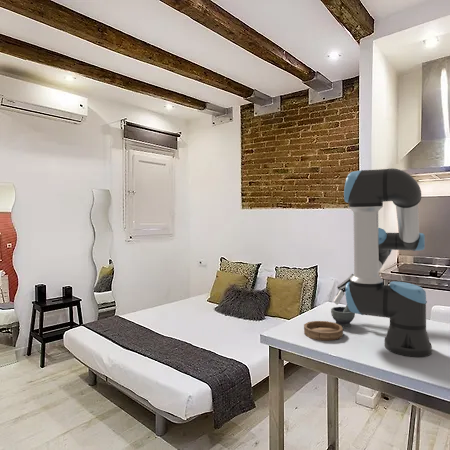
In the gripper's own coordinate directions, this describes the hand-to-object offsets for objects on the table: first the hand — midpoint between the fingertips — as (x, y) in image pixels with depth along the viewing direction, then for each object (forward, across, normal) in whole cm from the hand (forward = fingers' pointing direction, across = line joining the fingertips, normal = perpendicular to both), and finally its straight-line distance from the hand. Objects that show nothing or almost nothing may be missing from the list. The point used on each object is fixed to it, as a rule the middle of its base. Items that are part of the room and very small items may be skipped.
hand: (347, 306), depth 155 cm
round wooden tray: (+18, -4, +8) cm, 20 cm away
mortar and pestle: (+7, -1, -4) cm, 8 cm away
